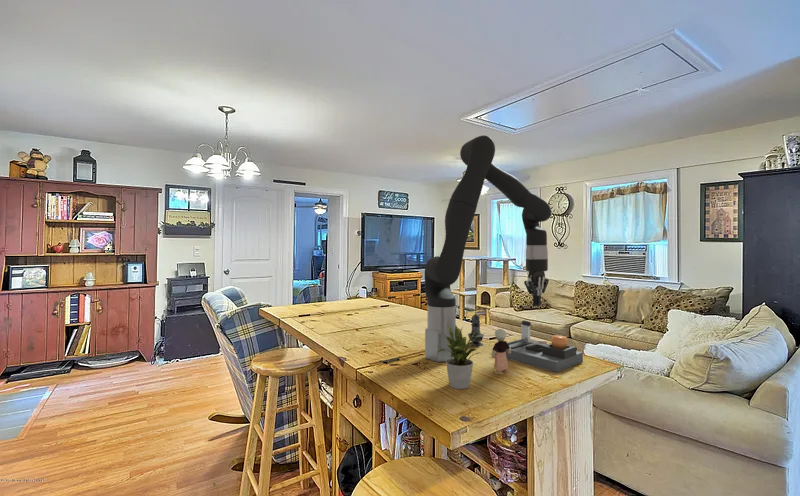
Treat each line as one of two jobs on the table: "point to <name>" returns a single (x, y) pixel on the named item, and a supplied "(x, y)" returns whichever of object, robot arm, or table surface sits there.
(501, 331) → the grandmother figurine
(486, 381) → the table surface
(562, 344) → the push button
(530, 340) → the rocker switch
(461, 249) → the robot arm
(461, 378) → the house plant
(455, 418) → the table surface
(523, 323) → the slide lever
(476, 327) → the dark grey ornate statuette
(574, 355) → the control panel
